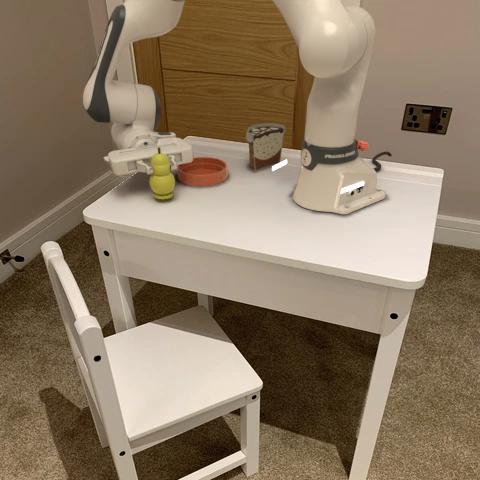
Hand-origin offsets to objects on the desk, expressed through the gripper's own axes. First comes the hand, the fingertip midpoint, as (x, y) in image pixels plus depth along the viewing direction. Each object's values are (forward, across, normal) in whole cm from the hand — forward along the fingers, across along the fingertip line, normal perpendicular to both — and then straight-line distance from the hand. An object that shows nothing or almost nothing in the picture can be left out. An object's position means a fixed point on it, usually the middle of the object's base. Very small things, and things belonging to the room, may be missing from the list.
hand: (162, 168), depth 112 cm
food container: (-11, +32, +8) cm, 35 cm away
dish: (-10, +14, +8) cm, 19 cm away
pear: (-1, 0, +7) cm, 7 cm away
